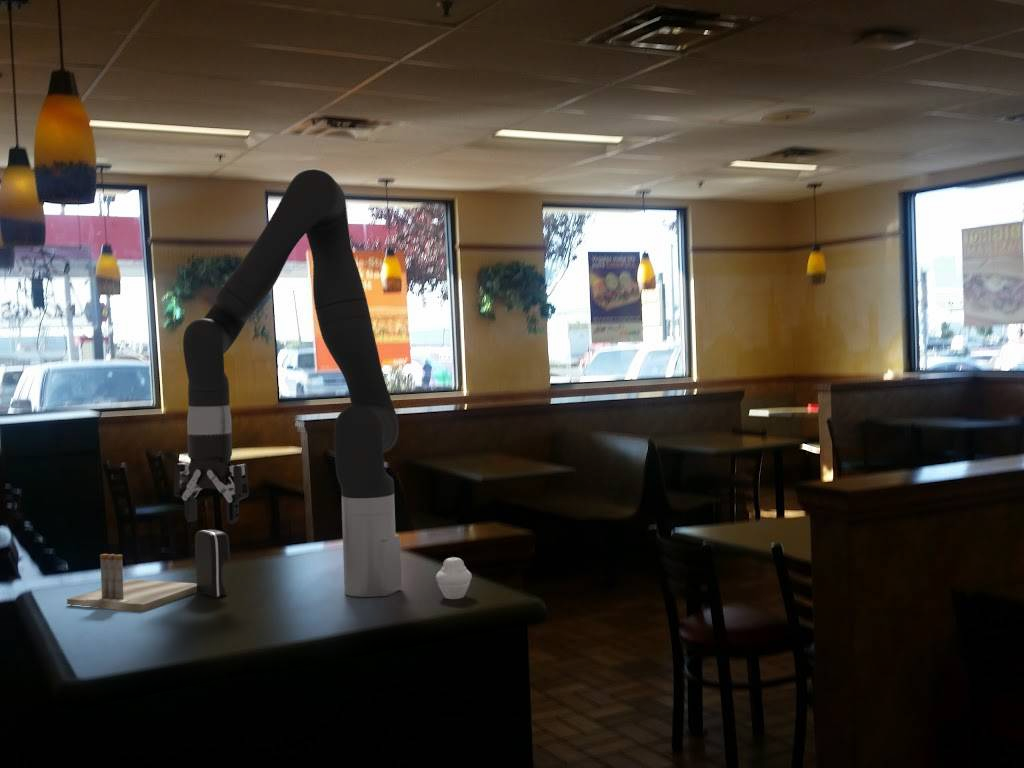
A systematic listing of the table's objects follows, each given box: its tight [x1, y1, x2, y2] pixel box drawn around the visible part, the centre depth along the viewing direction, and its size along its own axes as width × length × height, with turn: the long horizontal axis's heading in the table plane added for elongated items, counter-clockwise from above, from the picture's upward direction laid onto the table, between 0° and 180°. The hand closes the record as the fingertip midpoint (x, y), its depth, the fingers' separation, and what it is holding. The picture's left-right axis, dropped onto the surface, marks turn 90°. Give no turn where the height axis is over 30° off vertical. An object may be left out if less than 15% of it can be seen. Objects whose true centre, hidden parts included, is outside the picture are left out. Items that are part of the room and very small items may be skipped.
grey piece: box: [435, 556, 473, 600], centre depth 178 cm, size 6×6×7 cm
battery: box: [194, 529, 231, 598], centre depth 185 cm, size 7×4×11 cm, turn 43°
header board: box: [66, 553, 198, 612], centre depth 184 cm, size 16×16×9 cm
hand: (211, 521), depth 185 cm, fingers open, 8 cm apart
